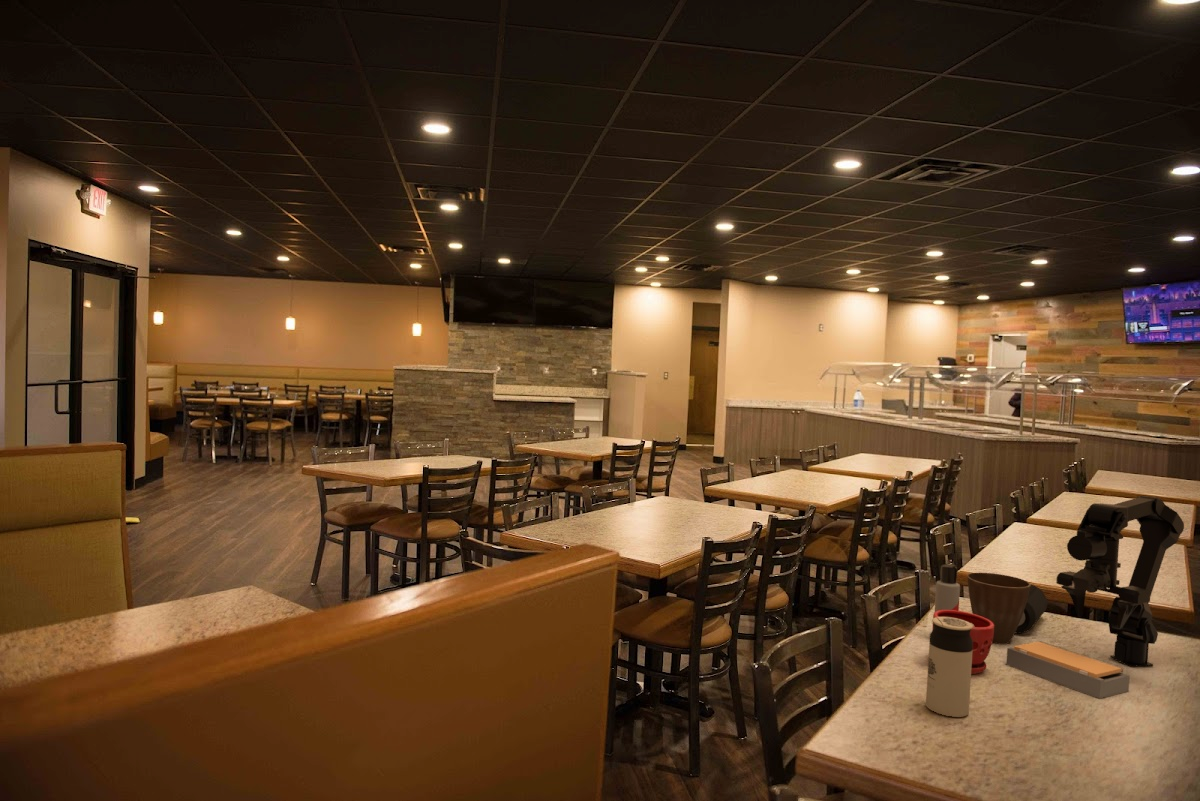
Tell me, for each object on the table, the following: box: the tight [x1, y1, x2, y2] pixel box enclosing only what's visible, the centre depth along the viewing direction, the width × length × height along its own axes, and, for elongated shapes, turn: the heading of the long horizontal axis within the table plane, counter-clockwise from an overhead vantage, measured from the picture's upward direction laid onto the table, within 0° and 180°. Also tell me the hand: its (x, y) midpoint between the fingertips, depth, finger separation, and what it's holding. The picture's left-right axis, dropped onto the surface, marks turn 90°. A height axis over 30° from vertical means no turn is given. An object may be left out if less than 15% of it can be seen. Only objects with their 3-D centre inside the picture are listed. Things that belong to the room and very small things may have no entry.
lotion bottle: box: [933, 563, 961, 614], centre depth 203 cm, size 6×6×20 cm
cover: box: [1013, 640, 1124, 678], centre depth 180 cm, size 10×19×1 cm, turn 28°
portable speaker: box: [1015, 584, 1048, 634], centre depth 222 cm, size 26×10×10 cm, turn 142°
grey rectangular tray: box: [1005, 647, 1131, 699], centre depth 180 cm, size 11×22×5 cm, turn 28°
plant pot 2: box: [967, 572, 1032, 645], centre depth 206 cm, size 15×15×16 cm
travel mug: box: [925, 617, 974, 718], centre depth 158 cm, size 8×8×18 cm
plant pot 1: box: [931, 610, 994, 675], centre depth 183 cm, size 13×13×12 cm
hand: (1099, 622), depth 186 cm, fingers open, 9 cm apart
